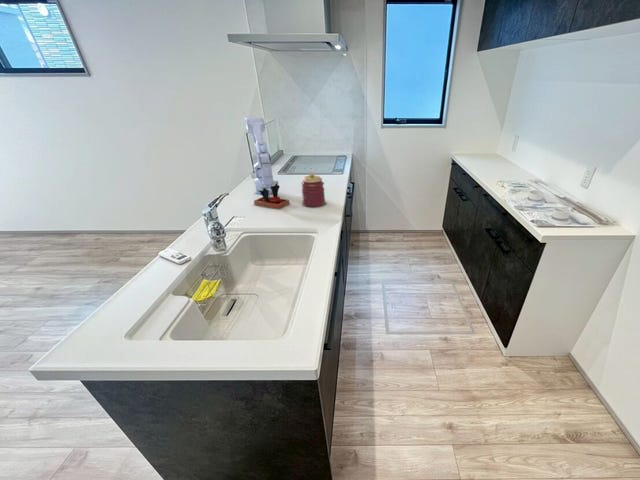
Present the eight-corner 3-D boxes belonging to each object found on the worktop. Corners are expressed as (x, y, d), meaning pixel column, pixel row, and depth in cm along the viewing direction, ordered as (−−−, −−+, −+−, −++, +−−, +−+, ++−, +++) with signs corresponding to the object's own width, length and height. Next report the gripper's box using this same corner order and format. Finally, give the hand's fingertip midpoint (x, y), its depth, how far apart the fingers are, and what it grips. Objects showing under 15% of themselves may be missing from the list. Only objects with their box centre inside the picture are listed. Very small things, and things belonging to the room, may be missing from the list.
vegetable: (283, 196, 182) (264, 197, 184) (279, 195, 177) (259, 197, 179) (284, 204, 183) (265, 205, 185) (280, 203, 178) (260, 205, 180)
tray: (254, 204, 182) (253, 200, 180) (265, 199, 189) (264, 196, 188) (279, 209, 176) (278, 204, 174) (289, 203, 183) (288, 199, 182)
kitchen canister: (298, 205, 180) (295, 174, 171) (310, 199, 190) (307, 169, 181) (318, 208, 176) (316, 176, 167) (329, 201, 187) (327, 171, 177)
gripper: (264, 179, 167) (268, 204, 174) (281, 173, 178) (284, 197, 185) (254, 178, 169) (258, 202, 176) (271, 172, 180) (275, 195, 188)
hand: (271, 199), depth 181 cm, fingers open, 7 cm apart
